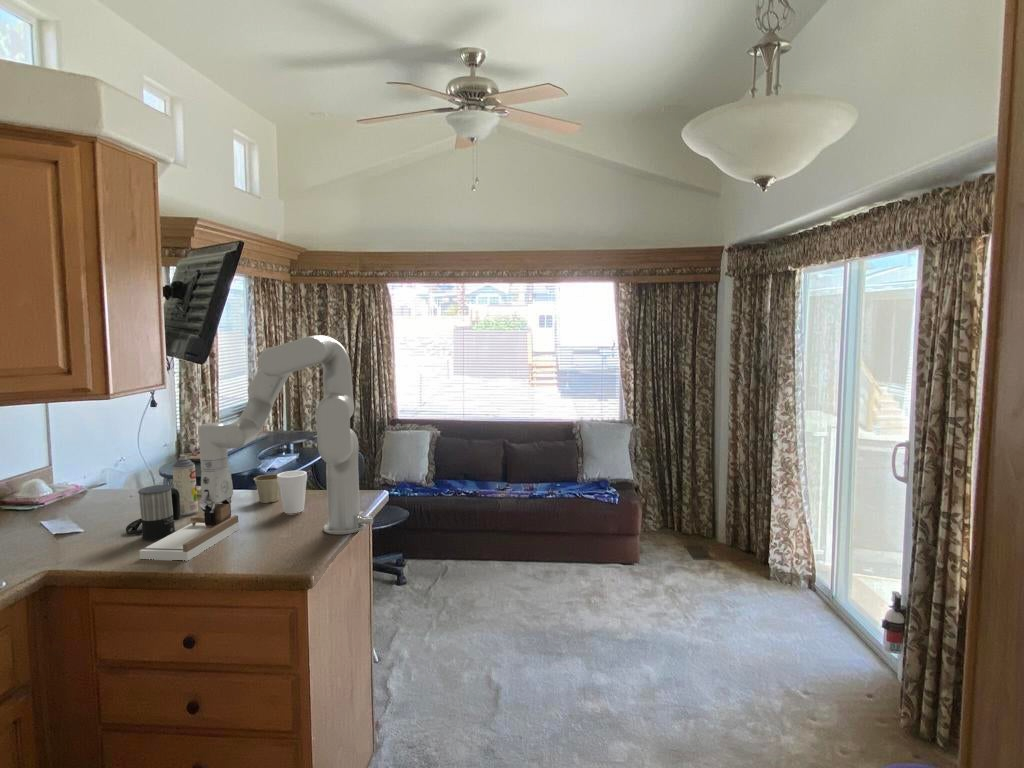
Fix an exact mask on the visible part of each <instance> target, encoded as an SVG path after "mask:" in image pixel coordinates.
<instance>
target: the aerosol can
mask: <svg viewBox="0 0 1024 768" xmlns="http://www.w3.org/2000/svg"><path fill="white" fill-rule="evenodd" d="M196 476H197V475H196V465H195V462H192V460H191V459H189V458H188V457H187V456H186V454H180V455H179V459H177V460H176V461H175V463H173V464H172V482H173V483H172V484H173V488H176V489H177V490H178V492H179V495H180V517H190V516H194V515H196V513H197V514H198V513H199V501H198V491H197V489H198V488H197V478H196ZM193 514H194V515H193ZM189 515H190V516H189Z"/></svg>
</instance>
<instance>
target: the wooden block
mask: <svg viewBox="0 0 1024 768" xmlns="http://www.w3.org/2000/svg"><path fill="white" fill-rule="evenodd" d="M230 505H231V503H230V504H222V503H218V504H215V508H214V512H215V516H216V525H218V524H220V523H222V522H224V521H225V520H227V519H229V518H231V517H232V515H231V516H230ZM208 506H209V507H210V508H211V505H208ZM191 523H192V524H193V525H195V524H196V523H205V517H204V515H192V516H191V517H190V524H191ZM216 525H214V526H209V525H206V528H213V527H215V526H216Z"/></svg>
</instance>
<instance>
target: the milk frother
mask: <svg viewBox="0 0 1024 768" xmlns="http://www.w3.org/2000/svg"><path fill="white" fill-rule="evenodd" d="M137 493H138V499H139V506H140V509H139V510H140V518H138V519H136V520H134V521H131V522H130V523H129V524H128V525H127V526H126V527H125V532H126V533H127V534H128V535H139V534H141V535H142V536H141V540H143V541H146V542H153V541H155V542H157V541H159V540H161V539H163V538H165V537H166V536H168V535H170V534H172V533H174V532H176V531H177V530H176V529H175V521H179V520H180V519H181V516H180V495H179V492H178V490H177V489H176V488H174V487H173V486H172V485H170V484H157V485H156V484H155V485H150V486H145V487H143V488H140V489H138V490H137ZM140 525H141V529H139V528H140Z"/></svg>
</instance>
